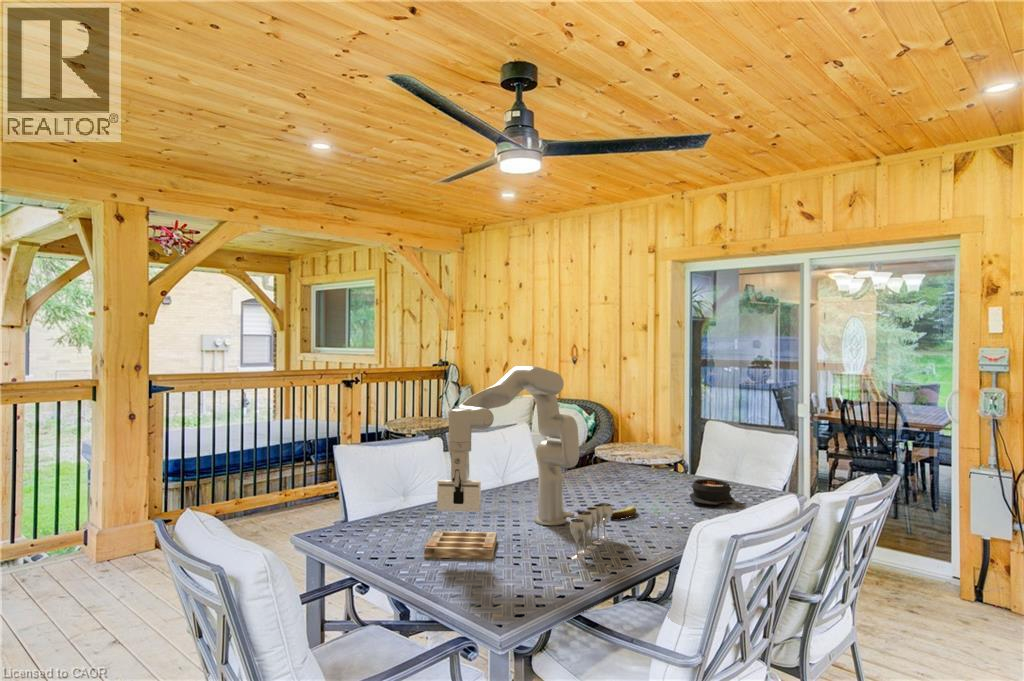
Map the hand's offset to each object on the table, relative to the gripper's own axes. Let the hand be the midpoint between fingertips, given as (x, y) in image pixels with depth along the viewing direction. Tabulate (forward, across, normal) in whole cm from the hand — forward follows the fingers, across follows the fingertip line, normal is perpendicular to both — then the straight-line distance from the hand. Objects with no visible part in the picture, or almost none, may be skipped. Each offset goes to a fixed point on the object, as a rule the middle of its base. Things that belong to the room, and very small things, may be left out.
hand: (459, 501), depth 194 cm
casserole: (+16, +75, -102) cm, 128 cm away
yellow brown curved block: (+17, +50, -60) cm, 80 cm away
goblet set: (+17, +11, -44) cm, 49 cm away
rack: (+17, +6, 0) cm, 18 cm away
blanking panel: (+3, 0, 0) cm, 3 cm away
